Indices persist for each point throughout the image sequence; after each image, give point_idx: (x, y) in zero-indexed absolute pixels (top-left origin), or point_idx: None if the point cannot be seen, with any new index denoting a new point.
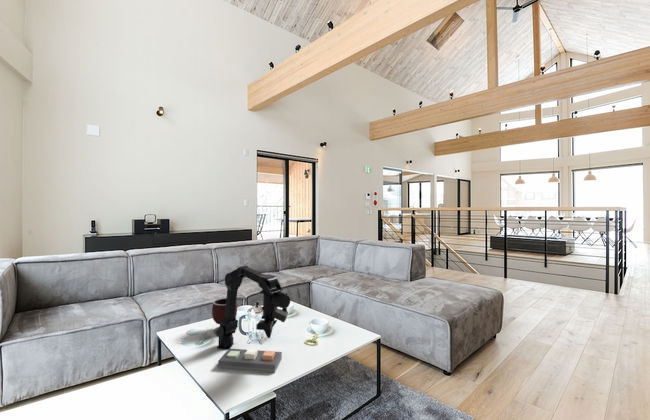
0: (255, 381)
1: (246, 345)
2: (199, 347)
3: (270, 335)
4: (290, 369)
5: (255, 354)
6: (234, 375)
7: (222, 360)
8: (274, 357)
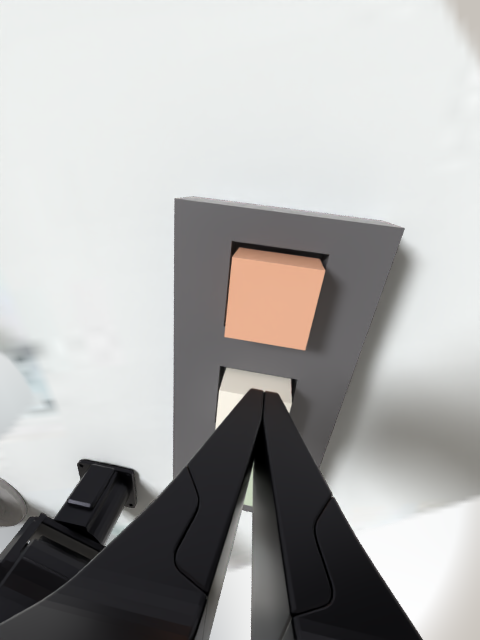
0: (464, 328)
1: (75, 411)
2: None
3: (271, 412)
4: (350, 89)
5: (265, 390)
6: (370, 428)
7: None
8: (258, 250)
